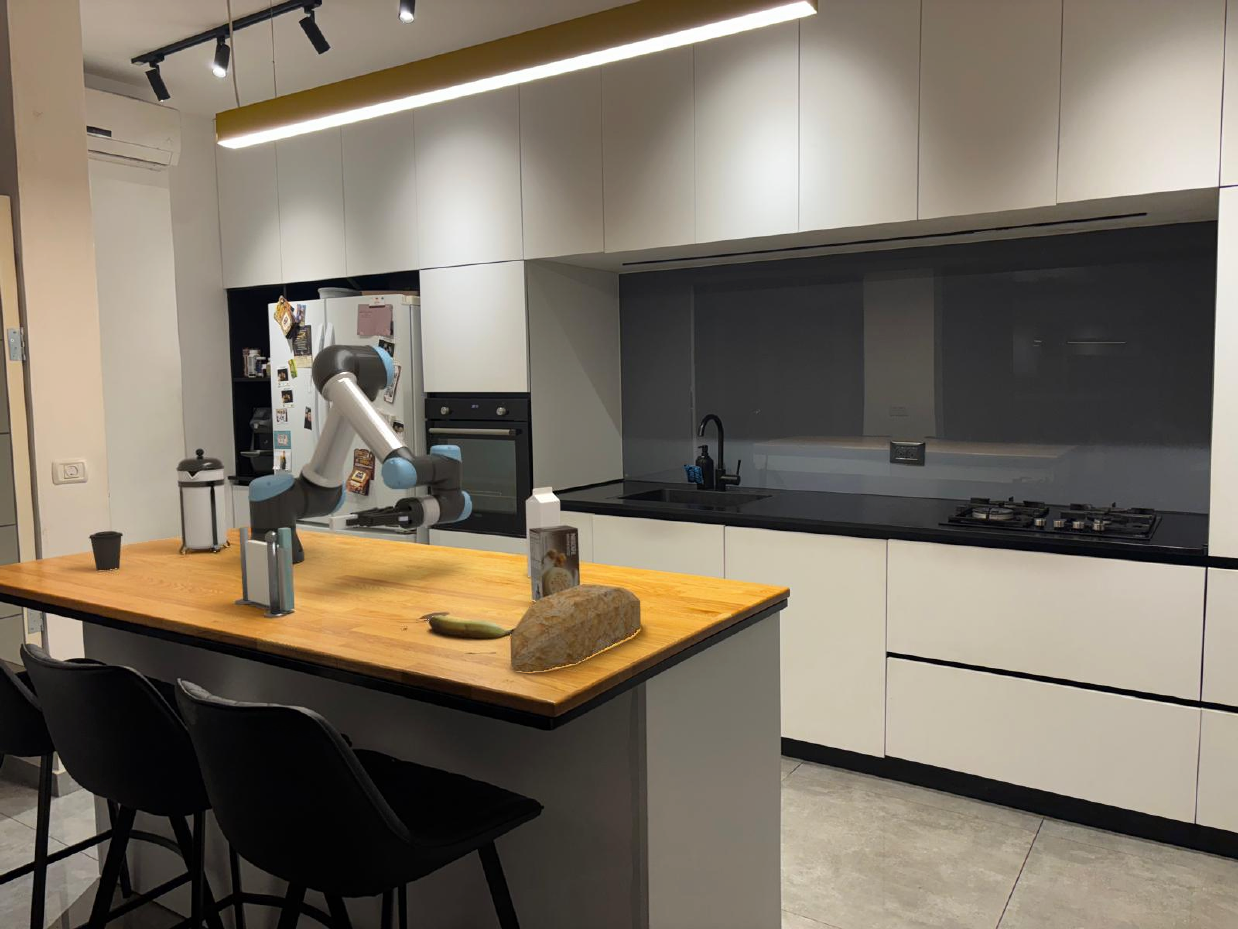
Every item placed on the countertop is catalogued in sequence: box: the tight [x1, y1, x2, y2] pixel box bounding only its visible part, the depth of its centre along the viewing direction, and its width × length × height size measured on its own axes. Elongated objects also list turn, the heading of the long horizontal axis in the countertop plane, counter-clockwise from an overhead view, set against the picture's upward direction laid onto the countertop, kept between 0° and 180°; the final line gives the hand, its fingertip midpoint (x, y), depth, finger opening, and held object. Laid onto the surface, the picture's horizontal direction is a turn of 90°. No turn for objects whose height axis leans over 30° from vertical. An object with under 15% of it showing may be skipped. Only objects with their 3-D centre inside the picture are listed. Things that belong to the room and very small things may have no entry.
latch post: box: [263, 531, 288, 618], centre depth 197 cm, size 4×4×18 cm
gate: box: [238, 526, 296, 610], centre depth 203 cm, size 19×2×17 cm, turn 49°
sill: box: [234, 598, 295, 615], centre depth 205 cm, size 20×5×1 cm, turn 50°
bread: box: [509, 583, 642, 672], centre depth 170 cm, size 36×11×10 cm, turn 149°
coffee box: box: [529, 524, 581, 601], centre depth 205 cm, size 9×6×16 cm
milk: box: [525, 486, 561, 578], centre depth 231 cm, size 6×6×22 cm
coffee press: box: [175, 448, 231, 554], centre depth 278 cm, size 17×16×30 cm
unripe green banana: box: [402, 611, 516, 655], centre depth 180 cm, size 35×27×4 cm
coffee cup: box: [88, 530, 124, 571], centre depth 251 cm, size 8×8×10 cm
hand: (331, 523), depth 213 cm, fingers closed
